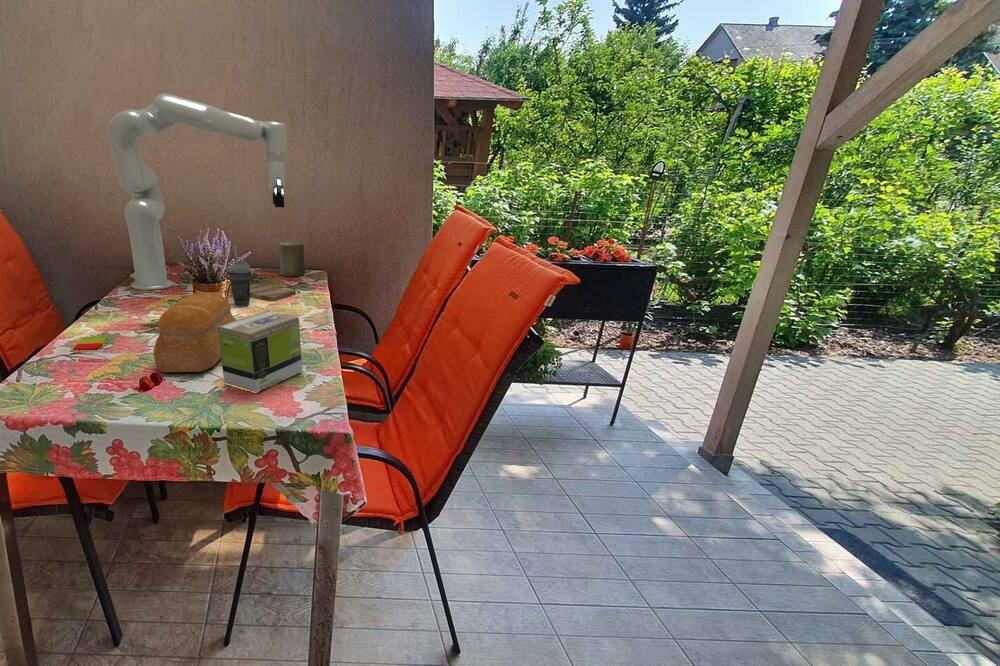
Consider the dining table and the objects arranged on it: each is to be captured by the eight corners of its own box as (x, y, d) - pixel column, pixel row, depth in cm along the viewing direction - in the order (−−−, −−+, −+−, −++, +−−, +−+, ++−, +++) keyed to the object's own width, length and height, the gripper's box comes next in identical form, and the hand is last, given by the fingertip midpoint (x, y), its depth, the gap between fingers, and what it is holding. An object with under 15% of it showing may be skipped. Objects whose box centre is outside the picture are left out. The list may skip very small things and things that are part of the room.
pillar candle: (309, 276, 227) (307, 241, 223) (287, 278, 220) (285, 242, 216) (298, 271, 234) (296, 237, 229) (276, 273, 227) (274, 238, 222)
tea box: (272, 364, 135) (268, 309, 130) (303, 373, 132) (301, 316, 127) (222, 385, 122) (216, 324, 117) (255, 395, 118) (251, 332, 114)
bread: (243, 339, 151) (239, 287, 146) (210, 375, 126) (204, 315, 121) (192, 338, 148) (186, 285, 144) (148, 375, 124) (140, 313, 119)
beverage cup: (242, 309, 176) (238, 249, 170) (225, 305, 178) (220, 246, 172) (258, 304, 183) (254, 246, 177) (241, 301, 185) (237, 244, 179)
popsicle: (72, 356, 131) (71, 349, 131) (90, 336, 144) (89, 329, 144) (99, 354, 133) (98, 347, 133) (114, 335, 147) (113, 328, 146)
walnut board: (232, 293, 192) (232, 289, 192) (257, 287, 203) (256, 283, 203) (272, 301, 187) (272, 297, 187) (295, 294, 198) (295, 290, 198)
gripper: (263, 156, 199) (266, 202, 204) (266, 157, 184) (269, 208, 190) (285, 157, 202) (287, 203, 207) (289, 159, 187) (291, 208, 193)
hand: (278, 205), depth 198 cm, fingers open, 9 cm apart
